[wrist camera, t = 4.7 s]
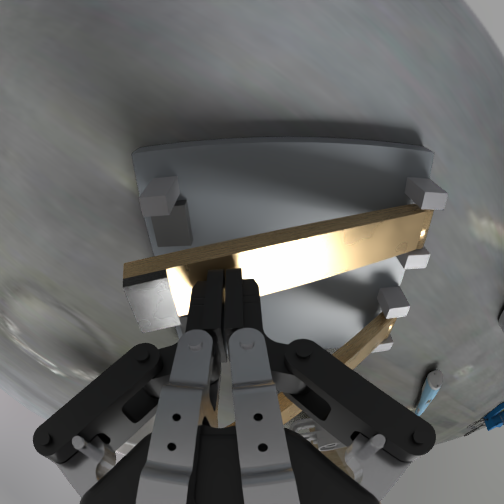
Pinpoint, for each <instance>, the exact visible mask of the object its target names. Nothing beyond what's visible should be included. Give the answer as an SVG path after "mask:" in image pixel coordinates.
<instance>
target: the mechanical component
mask: <svg viewBox="0 0 504 504" xmlns="http://www.w3.org/2000/svg"><path fill="white" fill-rule="evenodd" d="M313 427H315V431H314V432H308V433H301V434H300V435H301V436H303V437H304V438H306V439H307V440H308V441H311V440H313V444H318V449H319V451H329V450H334V449H338V448H342V447H347V446H345V445H344V444H343V443H341V442H340V441H339V440H338V439H336V438H335V437H334V436H332V435H331V434H330V433H329V432H327V431H326V430H325V429H324V428H322V427H321V426H320V425H319V424H318V423H316V422H315V421H314V420H313V419H312V418H307V419H301V420H296V421H294V422H293V423H292V424H291V425H290V427H289V429H290V430H292V431H295V432H297V431H298V430H301V429H307V428H313Z"/></svg>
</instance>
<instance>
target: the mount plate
mask: <svg viewBox="0 0 504 504" xmlns="http://www.w3.org/2000/svg"><path fill="white" fill-rule="evenodd" d="M433 157H434V152H432V151H431V150H429V149H427V148H426V147H424V146H417V145H410V144H402V143H393V142H383V141H373V140H360V139H345V138H324V137H251V138H229V139H214V140H201V141H190V142H180V143H171V144H162V145H155V146H147V147H140V148H138V149H137V150H136V151H135V152H133V153H132V159H133V165H134V170H135V175H136V181H137V186H138V190H139V195H140V196H139V203H140V207H141V212H142V216H143V217H144V218H145V222H146V226H147V230H148V234H149V238H150V242H151V246H152V250H153V254H154V256H159V255H163V254H168V253H172V252H177V251H181V250H186V249H190V248H195V247H200V246H204V245H209V244H213V243H218V242H223V241H228V240H232V239H237V238H242V237H247V236H251V235H256V234H261V233H266V232H271V231H275V230H280V229H285V228H290V227H295V226H300V225H305V224H310V223H315V222H320V221H325V220H330V219H335V218H341V217H346V216H351V215H356V214H361V213H366V212H372V211H377V210H382V209H388V208H393V207H398V206H404V205H409V204H417V205H418V206H419V207H420V208H421V209H432V210H444V208H445V204H446V200H447V196H448V193H447V192H446V191H444V190H443V189H442V188H441V187H439V186H438V185H437V184H436V183H434V182H433V181H432V180H430V174H431V169H432V163H433ZM429 257H430V253H429V252H428V251H427V249H426V248H425V247H424V246H423V248H422V249H416V250H413V251H410V252H407V253H404V254H401V255H398V256H395V257H392V258H388V259H385V260H382V261H379V262H376V263H373V264H370V265H366V266H363V267H360V268H357V269H354V270H350V271H347V272H344V273H340V274H337V275H334V276H330V277H327V278H323V279H320V280H317V281H313V282H310V283H306V284H303V285H299V286H295V287H292V288H288V289H285V290H281V291H277V292H274V293H270V294H266V295H262V296H260V302H261V312H262V323H263V330H264V333H265V334H266V335H267V337H269V338H270V339H271V340H273V341H275V342H279V343H283V344H289V343H290V342H292V341H294V340H297V339H309V340H312V341H314V342H315V343H317V344H318V345H319V346H321V347H322V348H323V349H330V348H339V347H342V346H343V345H344V344H346V343H347V342H348V341H349V340H350V339H352V338H353V337H354V336H355V335H356V334H357V333H359V332H360V331H361V330H362V329H363V328H364V327H366V326H367V325H368V324H369V323H370V322H371V321H372V320H373V319H375V318H376V317H377V316H378V315H379V314H380V313H381V312H382V311H383V313H384V316H385V318H386V319H389V318H397V317H404V316H406V315H407V313H408V310H409V308H410V305H409V303H408V301H407V299H406V297H405V295H404V293H403V292H402V290H401V288H400V284H401V281H402V278H403V275H404V272H405V269H415V268H426V265H427V263H428V260H429ZM187 317H188V314H186V315H182V316H179V318H180V323H181V325H177V326H175V328H176V331H177V334H178V337H179V339H180V337H181V336H182V335H183V334H184V333H185V331H186V324H187ZM392 344H393V340H392V337H391V335H390V334H389V336H388V338H387V339H384V340H383V341H382V342H381V343H380V344H379V345H378V346H377V347H376V348H375V349H374V350H373V351H372V352H371V353H374V352H380V351H386V350H390V348H391V346H392ZM227 354H228V349H227Z"/></svg>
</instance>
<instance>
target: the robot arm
mask: <svg viewBox="0 0 504 504" xmlns="http://www.w3.org/2000/svg"><path fill="white" fill-rule="evenodd" d="M190 298H191V299H190V303H189V310H188V317H187V324H186V331H185V333H184V334H183V335H182V336H181V337H180V339H179V341H178V342H177V343H176V344H174V345H172V346H169V347H165V348H161V349H157V347H156V346H154V345H152V344H149V343H142V344H138V345H136V346H134V347H133V348H132V349H130V350H129V351H128V352H127V353H126V354H125V355H123V356H122V357H121V358H120V359H119V360H117V361H116V362H115V363H114V364H113V365H111V366H110V367H109V368H108V369H107V370H106V371H104V372H103V373H102V374H101V375H100V376H98V377H97V378H96V379H95V380H94V381H92V382H91V383H90V384H89V385H88V386H87V387H85V388H84V389H83V390H82V391H81V392H79V393H78V394H77V395H76V396H75V397H73V398H72V399H71V400H70V401H69V402H68V403H66V404H65V405H64V406H63V407H62V408H60V409H59V410H58V411H57V412H56V413H55V414H53V415H52V416H51V417H50V418H49V419H47V420H46V421H45V422H44V423H43V424H42V425H40V426H39V427H38V428H37V429H36V431H35V433H34V436H33V444H34V447H35V449H36V450H37V452H39V453H40V454H41V455H43V456H45V457H46V458H48V459H50V460H51V461H52V462H54V463H55V464H56V465H57V466H58V467H59V469H60V470H61V471H62V473H63V474H64V476H65V477H66V478H67V480H68V481H69V482H70V484H71V485H72V486H73V488H74V489H75V490H76V491H77V493H78V494H79V495H80V496H81V498H82V499H81V501H80V504H380V501H381V500H382V498H384V496H385V495H386V494H387V493H388V492H389V490H390V489H391V488H392V487H393V486H394V484H395V483H396V482H397V481H398V479H399V478H400V476H401V475H402V474H403V473H404V472H405V470H406V469H407V468H408V466H409V465H410V464H411V462H413V461H415V460H416V459H418V458H420V457H421V456H423V455H424V454H426V453H428V452H429V451H430V450H431V449H432V447H433V446H434V444H435V440H436V434H435V430H434V428H433V427H432V426H431V424H429V423H428V422H426V421H425V420H423V419H422V418H421V417H419V416H418V415H416V414H415V413H413V412H412V411H410V410H409V409H407V408H406V407H404V406H403V405H401V404H400V403H399V402H397V401H396V400H394V399H393V398H391V397H390V396H389V395H387V394H386V393H384V392H383V391H381V390H380V389H379V388H377V387H376V386H374V385H373V384H371V383H370V382H369V381H367V380H366V379H364V378H363V377H362V376H360V375H359V374H358V373H356V372H355V371H353V370H352V369H351V368H349V367H348V366H346V365H345V364H344V363H342V362H341V361H340V360H338V359H337V358H336V357H334V356H333V355H331V354H330V353H329V352H327V351H326V350H325V349H323V348H322V347H321V346H319V345H318V344H317V343H315V342H314V341H312V340H309V339H297V340H294V341H292V342H290V343H289V344H283V343H279V342H275V341H273V340H271V339H270V338H269V337H267V335H266V334H265V333H264V330H263V323H262V312H261V302H260V291H259V285H258V284H257V282H256V281H255V280H254V278H253V279H243V278H242V268H232V269H226V281H225V273H224V269H213V270H208V273H207V281H197V282H196V284H195V285H194V287H193V288H192V291H191V297H190ZM499 326H500V327H501V329H502V330H503V332H504V310H503V312H502V314H501V316H500V319H499ZM227 349H228V355H229V361H230V362H231V374H232V393H233V403H234V413H235V423H236V425H234V426H230V427H226V428H218V419H217V412H218V401H219V391H220V382H221V375H220V374H221V362H227ZM277 391H280V392H283V394H284V395H285V396H286V397H287V398H288V399H289V400H290V401H291V402H293V403H294V404H295V405H296V406H297V407H298V408H300V409H301V410H302V411H303V412H304V413H306V414H307V415H308V416H309V417H310V418H312V419H313V420H314V421H315V422H316V423H318V424H319V425H320V426H321V427H322V428H324V429H325V430H326V431H327V432H329V433H330V434H331V435H332V436H334V437H335V438H336V439H338V440H339V441H340V442H341V443H343V444H344V445H345V446H347V449H346V451H345V462H346V464H347V465H348V466H349V467H350V468H351V469H352V471H353V473H354V477H355V480H354V479H353V478H351V477H350V476H349V475H348V474H346V473H345V472H344V471H343V470H341V469H340V468H339V467H338V466H337V465H335V464H334V463H333V462H332V461H331V460H330V459H328V458H327V457H326V456H325V455H324V454H323V453H321V452H320V451H319V450H318V449H317V448H316V447H315V446H313V445H312V444H311V443H310V442H309V441H308V440H307V439H306V438H304V437H303V436H301V435H300V434H298V433H296V432H295V431H292V430H290V429H287V428H284V426H283V421H282V416H281V411H280V406H279V401H278V395H277ZM155 414H156V416H155V421H154V425H153V430H152V432H151V433H149V434H148V435H146V436H145V437H144V438H143V439H142V440H141V441H140V442H139V443H138V444H137V445H135V446H134V447H133V448H132V449H131V450H130V451H129V452H128V453H127V454H126V455H125V456H124V457H123V458H122V459H121V460H120V461H119V462H118V463H117V464H116V465H115V463H116V455H115V451H116V450H117V449H119V448H120V447H121V446H122V445H123V444H124V443H125V442H126V441H127V440H129V439H130V438H131V437H132V436H133V435H134V434H135V433H136V432H137V431H138V430H139V429H140V428H142V427H143V426H144V425H145V424H146V423H147V422H148V421H149V420H150V419H151V418H152V417H153V416H154V415H155Z"/></svg>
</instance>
